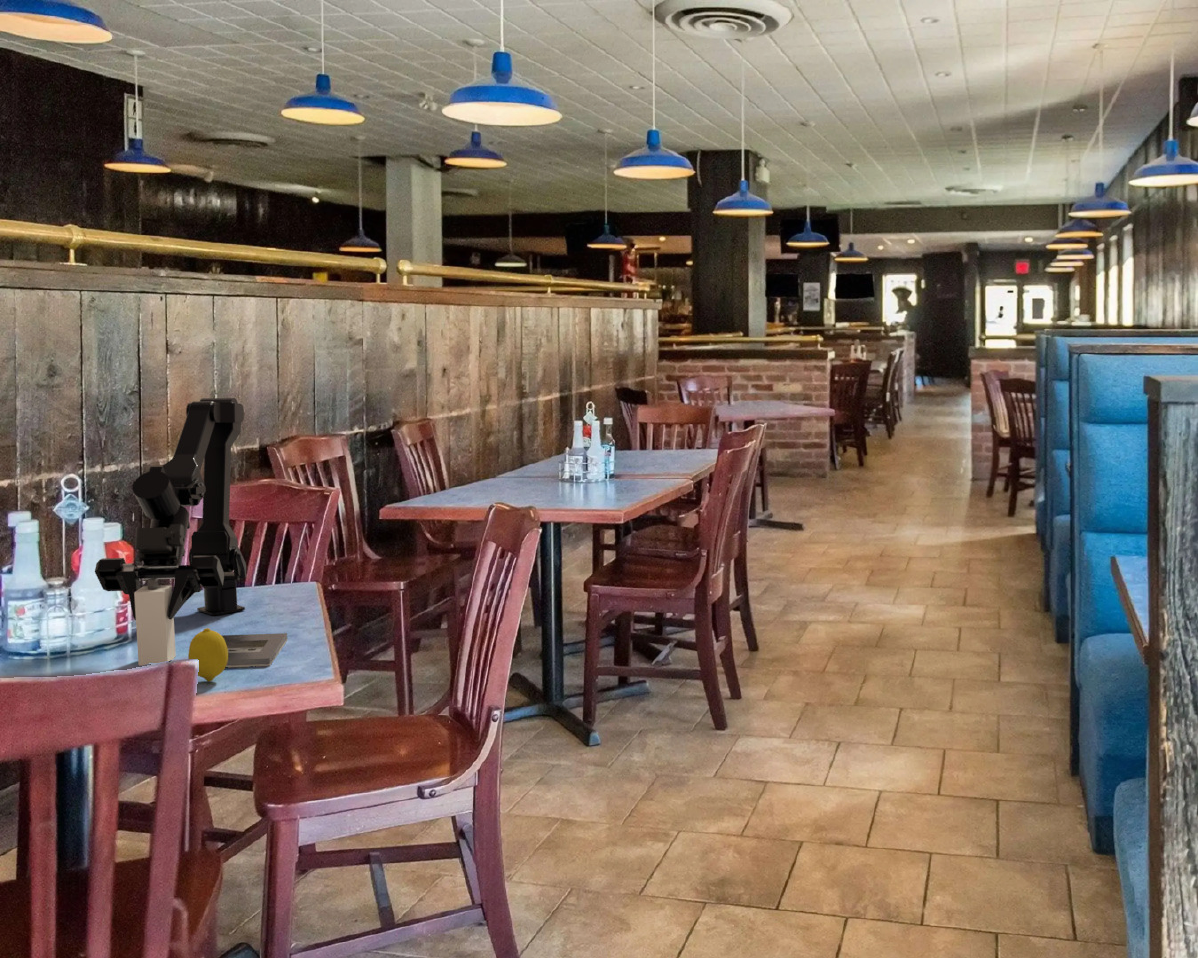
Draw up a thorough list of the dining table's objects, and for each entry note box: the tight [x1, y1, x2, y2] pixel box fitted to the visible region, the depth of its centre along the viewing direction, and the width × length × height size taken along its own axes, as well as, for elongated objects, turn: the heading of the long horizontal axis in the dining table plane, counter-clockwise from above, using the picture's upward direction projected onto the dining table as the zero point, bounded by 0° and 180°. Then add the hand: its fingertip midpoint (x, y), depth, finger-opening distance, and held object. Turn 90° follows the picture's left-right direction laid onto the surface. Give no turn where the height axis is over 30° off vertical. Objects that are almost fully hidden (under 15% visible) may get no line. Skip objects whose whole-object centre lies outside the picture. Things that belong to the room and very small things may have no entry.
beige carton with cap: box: [134, 578, 177, 666], centre depth 193 cm, size 5×4×13 cm
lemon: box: [187, 627, 228, 683], centre depth 181 cm, size 6×6×8 cm
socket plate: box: [220, 632, 288, 668], centre depth 197 cm, size 16×12×1 cm
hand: (152, 618), depth 191 cm, fingers open, 5 cm apart
